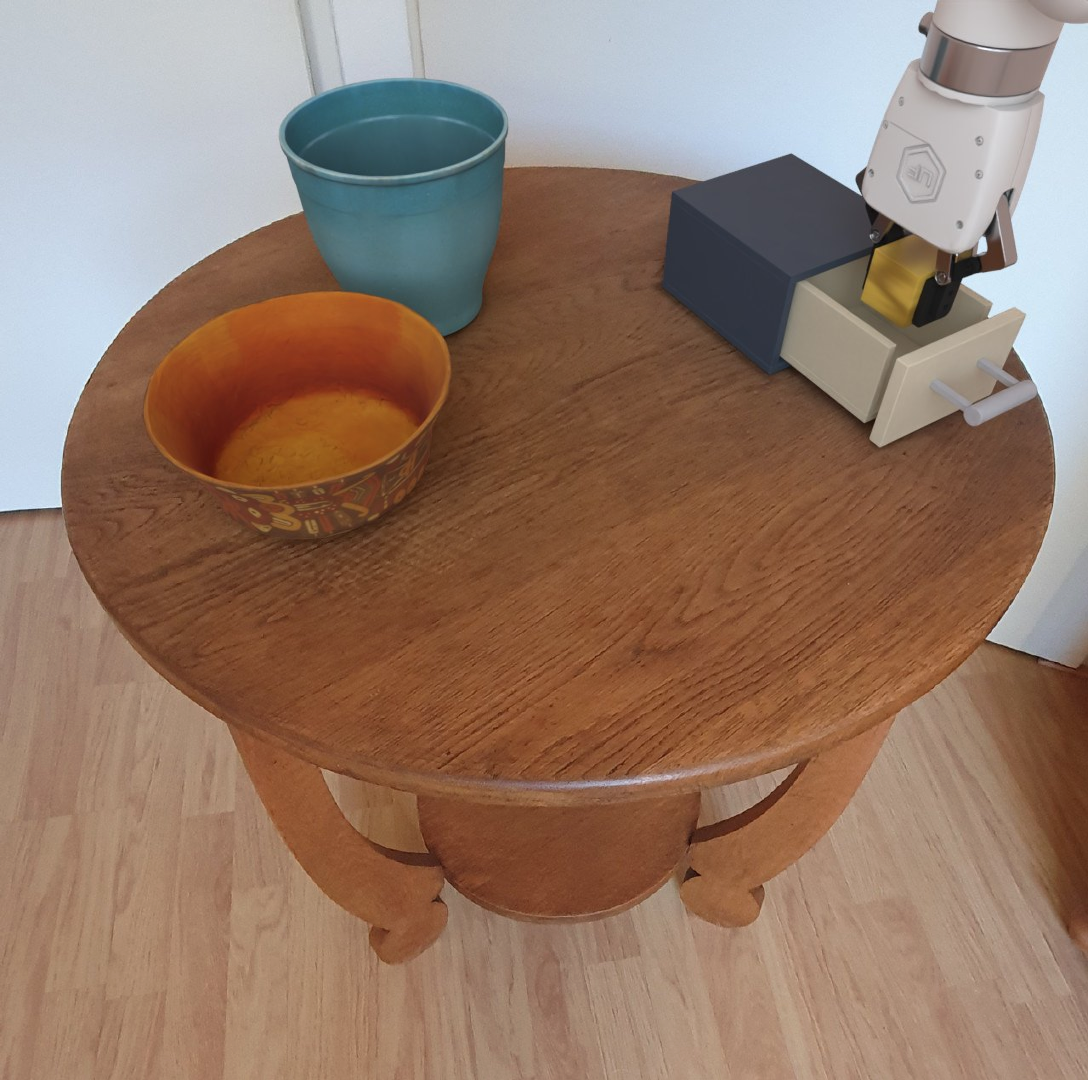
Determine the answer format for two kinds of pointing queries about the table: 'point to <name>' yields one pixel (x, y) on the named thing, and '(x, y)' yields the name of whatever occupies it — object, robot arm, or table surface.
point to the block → (899, 278)
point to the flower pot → (403, 189)
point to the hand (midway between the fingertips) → (903, 301)
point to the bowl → (302, 409)
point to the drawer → (901, 355)
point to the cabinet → (759, 248)
